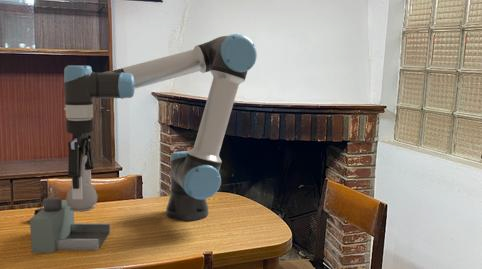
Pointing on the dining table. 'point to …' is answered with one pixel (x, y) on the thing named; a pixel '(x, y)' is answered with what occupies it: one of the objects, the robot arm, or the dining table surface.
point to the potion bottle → (83, 193)
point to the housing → (50, 225)
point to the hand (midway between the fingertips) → (82, 194)
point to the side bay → (84, 236)
